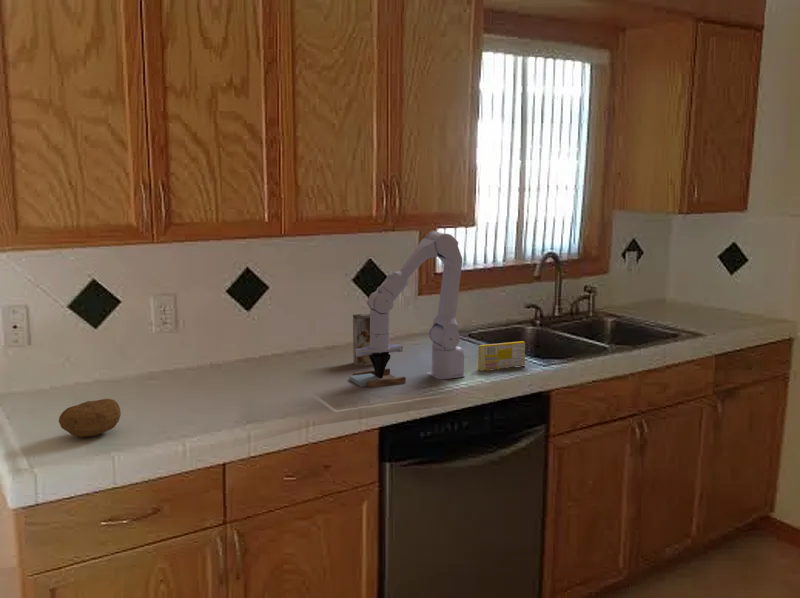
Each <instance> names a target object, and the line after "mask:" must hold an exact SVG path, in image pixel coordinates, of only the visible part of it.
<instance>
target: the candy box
mask: <svg viewBox="0 0 800 598" xmlns="http://www.w3.org/2000/svg"><path fill="white" fill-rule="evenodd" d="M477 352H478V355H477V356H478V359H477V364H478V366H477V370H478V371H479V370H480V372H483V370H487V371H492V370H491V369H497V370H499V369H498V368H507V367H515V366H522V365H525V366H526V341H523V340H521V341H512V342H511V341H509V342H501V343H500V342H499V343H491V344H490V343H489V344H479V345H478V351H477ZM507 369H508V368H507Z"/></svg>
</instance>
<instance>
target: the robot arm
mask: <svg viewBox="0 0 800 598" xmlns="http://www.w3.org/2000/svg"><path fill="white" fill-rule="evenodd" d="M433 258H438V259H439V260H440V261H441V262H442V263H443V269H442V278H441V285H440V294H439V302H438V308H437V315H436V316H435V317H434V318H433V321H432V325H431V327H430V329H429V331H428V336H429V339H430V341H431V342H432V344H431V345H432V346H431V350H432V351H431V371H427V372H426V374H427V375H430V376H432V377H434V378H436V379H438V380H439V379H442V380H449V379H455V378H464V377H466V375H465V371H464V369H465V354H464V350H463V348H462V347H461V346H459V343H460V340H461V337H460V333H459V323H458V321H457V319H456V315H457V306H458V298H459V293H460V291H459V290H460V284H461V283H460V282H461V277H462V276H461V275H462V268H463V267H462V266H463V256H462V253H461V250H460V248H459V241H458V240H457V239H456V238H455V237H454V236H453V235H452V234H451V233H443V232H439V231H436V230H432V231H430V232H428V233H427V234H426V235H425V236H424V238H423V239H421V240H420V242H419V244H418V246H417V247H416V249H414V251H413V253H412V254H411V255H410V256H409V257H408V259H407V260H406V262H405V263H404V264H403V266H401V268H400V269H399V270H397V271H392V272H391V273H390V272H389V273H388V274H387V276H386V277H387V278H386V279H385V281H384V282H383V283H382V284H381V285H380V286H378V287H377V288H376V291H373V292H372V293H370V295H369V297H368V300H366V304H367V307H368V308H369V310H370V311H369V312H370V313H369V314H370V346H368V347H364V348H359V349H356V356H358V357H360V356H364V355H368V356H369V358H370V360H371V362H372V364H373V365H372V367H373V370H375V375H376V376H377V377H378V378H383V374H384V370H385V369H386V368H387V364H388V363H389V361H390V359H391V357H392V356H391V354H390V353H403V351H404V348H403V347H404V346H403V345H402V344H399V343H398V344H390V321H391V320H390V312H391V310H393V307H394V302H395V301H396V299H398V297H399V296H400V294H401V293H402V292H403V291H404V290H405V289H406V287H407V286H408V284H409V278H410V277H411V276H412V275H413V273H415V272H416V270H417V269H418V268H420V267H421V265H423V264H424V262H425V261H426V260H427V259H428V260H429V259H433Z"/></svg>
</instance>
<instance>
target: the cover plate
mask: <svg viewBox="0 0 800 598" xmlns="http://www.w3.org/2000/svg"><path fill="white" fill-rule="evenodd" d="M374 380H382V379H380V378H378V377H377V376H375V375H373V374H371V373H369V374H361V375H353V374H352V375H349V381H351V382H353V383H354V384H356V385H357V386H358V387H361V388H363V387H366V386H367V381H374Z"/></svg>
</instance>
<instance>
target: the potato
mask: <svg viewBox="0 0 800 598" xmlns="http://www.w3.org/2000/svg"><path fill="white" fill-rule="evenodd" d="M121 414H122V413H121V408H120V405H119V403H118V401H116V400H115V399H112V398H102V399H97V400H87V401H85V402H84V401H83V402H82V403H79V404H77V405H73V406H69V407H67V408H66V409H65V410H63V411H62V413H61V414H60V415H59V417H58V423H59V425H60V427H61V429H62V430H64V431H66V432H68V433H69V434H71V435H72V436H74V437H76V438H91V437H95V436H99V435H101V434H103V433H106V432H108V431H109V430H112V429H114V428H115V427H116V426H117V424H118V423H119V421H120V419H121Z"/></svg>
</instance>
